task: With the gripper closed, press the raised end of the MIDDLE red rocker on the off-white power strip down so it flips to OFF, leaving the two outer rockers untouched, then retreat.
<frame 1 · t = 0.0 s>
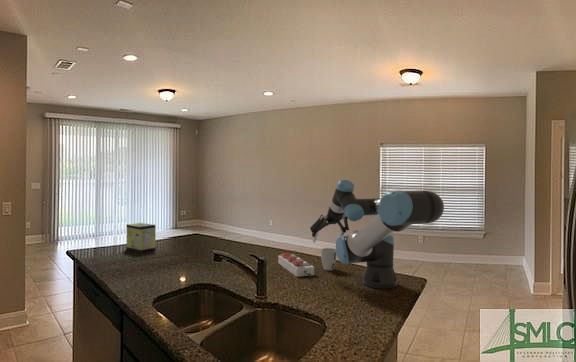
hand: (325, 240, 201), 15 cm above the worktop, tool tilted 35°, fingers open, 13 cm apart
power strip: (295, 268, 204), on the worktop
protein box: (141, 249, 246), on the worktop
rocker 1: (297, 262, 194), point 5 cm above the worktop, hinge at 12.0°
rocker 2: (291, 258, 203), point 5 cm above the worktop, hinge at 12.0°
rocker 3: (285, 254, 211), point 5 cm above the worktop, hinge at 12.0°
cup: (328, 269, 203), on the worktop
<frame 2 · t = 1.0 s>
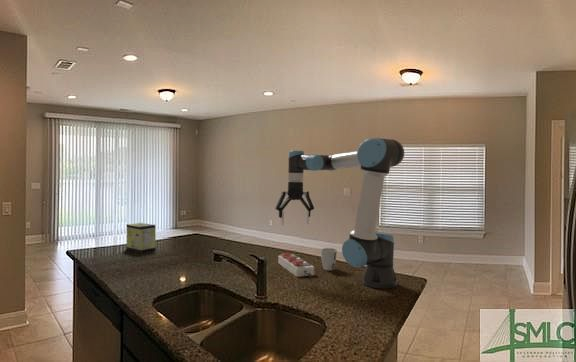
hand: (294, 223, 200), 23 cm above the worktop, tool pointing down, fingers open, 12 cm apart
nothing on the worktop moved.
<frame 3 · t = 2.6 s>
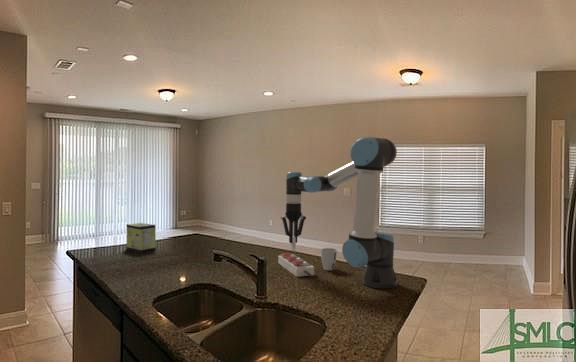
hand: (293, 249, 200), 10 cm above the worktop, tool pointing down, fingers closed
nothing on the worktop moved.
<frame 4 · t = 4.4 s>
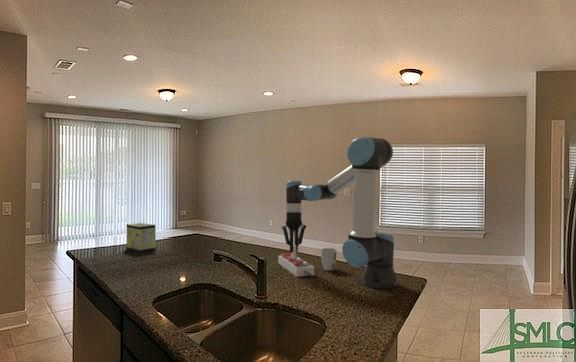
hand: (293, 258, 199), 6 cm above the worktop, tool pointing down, fingers closed
rocker 2: (291, 258, 203), point 5 cm above the worktop, hinge at 7.0°, touching gripper
everything else where it was.
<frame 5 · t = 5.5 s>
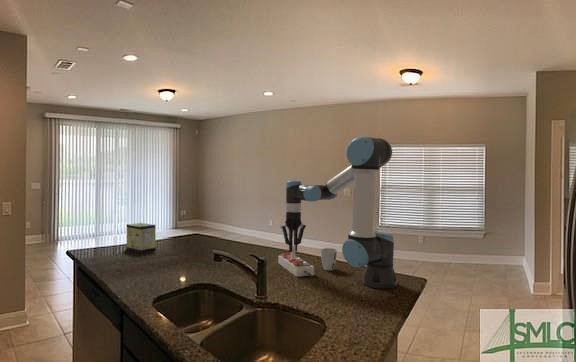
hand: (292, 258, 200), 6 cm above the worktop, tool pointing down, fingers closed
rocker 2: (291, 258, 203), point 5 cm above the worktop, hinge at -14.8°, touching gripper
everything else where it was.
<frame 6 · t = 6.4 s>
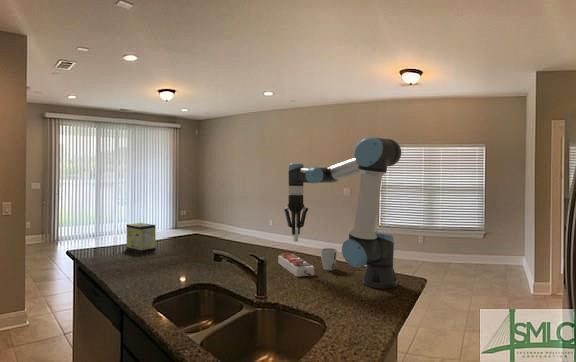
hand: (295, 241, 200), 15 cm above the worktop, tool pointing down, fingers closed
rocker 2: (291, 258, 203), point 5 cm above the worktop, hinge at -13.1°
everything else where it was.
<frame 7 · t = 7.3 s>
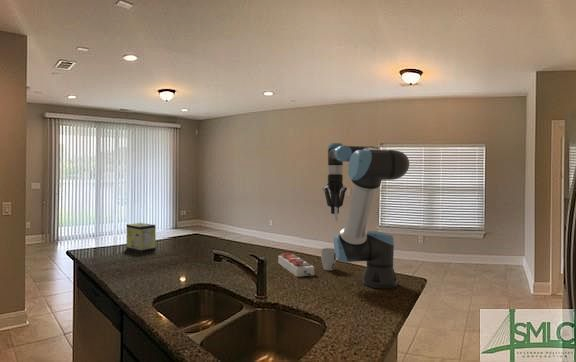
hand: (334, 220, 202), 25 cm above the worktop, tool pointing down, fingers closed
rocker 2: (291, 258, 203), point 5 cm above the worktop, hinge at -11.9°
everything else where it was.
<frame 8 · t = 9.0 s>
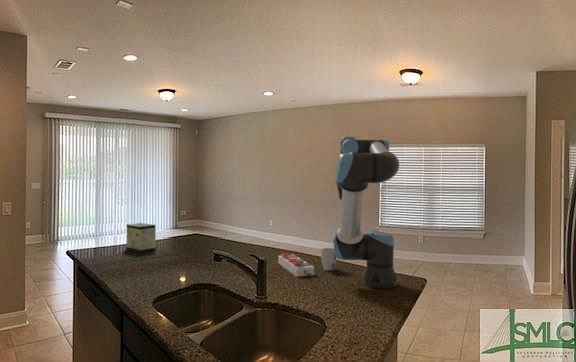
hand: (347, 213, 203), 28 cm above the worktop, tool pointing down, fingers closed
rocker 2: (291, 258, 203), point 5 cm above the worktop, hinge at -10.3°
everything else where it was.
at the end: rocker 2 at -10° (first picture: +12°); rocker 1 at +12° (first picture: +12°); rocker 3 at +12° (first picture: +12°) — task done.
